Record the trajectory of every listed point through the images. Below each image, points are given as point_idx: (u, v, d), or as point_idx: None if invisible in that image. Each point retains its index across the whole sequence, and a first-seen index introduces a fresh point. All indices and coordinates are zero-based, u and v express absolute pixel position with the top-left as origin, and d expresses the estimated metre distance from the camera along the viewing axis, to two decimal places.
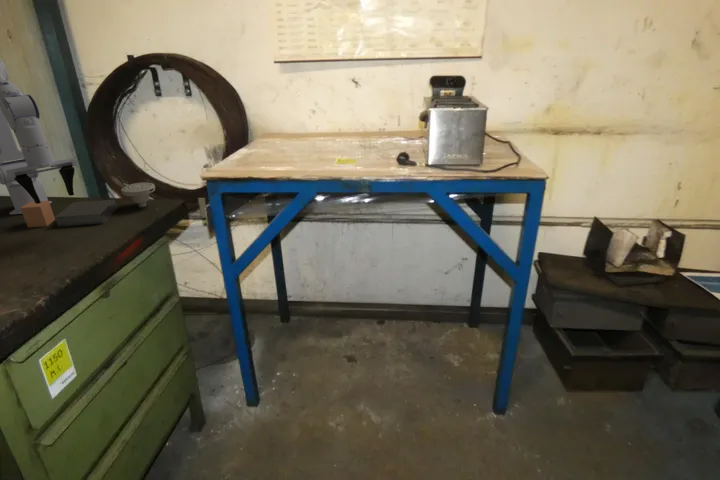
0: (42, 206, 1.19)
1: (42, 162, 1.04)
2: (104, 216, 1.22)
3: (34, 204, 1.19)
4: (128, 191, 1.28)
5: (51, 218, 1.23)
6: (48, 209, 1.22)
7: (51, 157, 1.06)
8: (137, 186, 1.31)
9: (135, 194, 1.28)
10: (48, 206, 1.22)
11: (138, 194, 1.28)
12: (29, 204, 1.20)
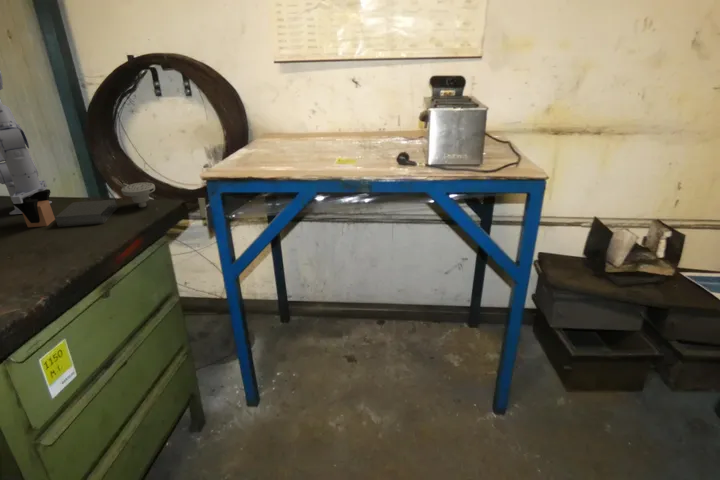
0: (42, 206, 1.19)
1: (39, 186, 1.18)
2: (104, 216, 1.22)
3: None
4: (128, 191, 1.28)
5: (51, 218, 1.23)
6: (47, 209, 1.22)
7: None
8: (137, 186, 1.31)
9: (135, 194, 1.28)
10: (48, 206, 1.22)
11: (138, 194, 1.28)
12: None
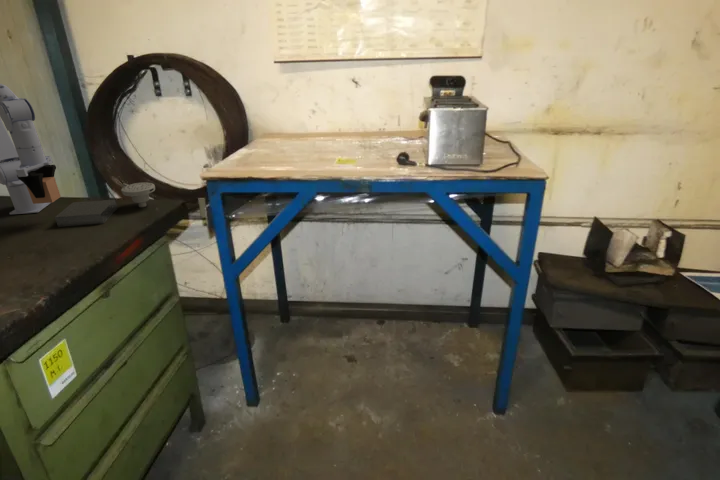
0: (48, 182, 1.17)
1: (44, 160, 1.16)
2: (104, 216, 1.22)
3: None
4: (128, 191, 1.28)
5: (56, 195, 1.21)
6: (53, 185, 1.20)
7: None
8: (137, 186, 1.31)
9: (135, 194, 1.28)
10: (54, 182, 1.20)
11: (138, 194, 1.28)
12: None
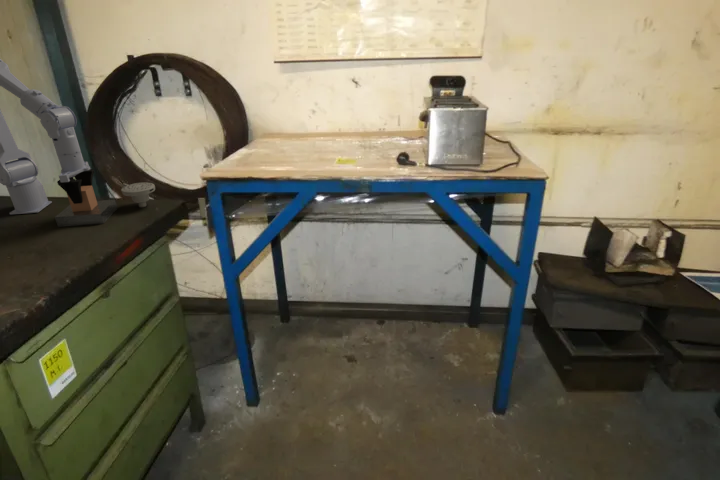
0: (87, 191, 1.22)
1: (83, 166, 1.19)
2: (104, 216, 1.22)
3: None
4: (128, 191, 1.28)
5: (94, 203, 1.25)
6: (91, 194, 1.24)
7: None
8: (137, 186, 1.31)
9: (135, 194, 1.28)
10: (92, 191, 1.24)
11: (138, 194, 1.28)
12: None
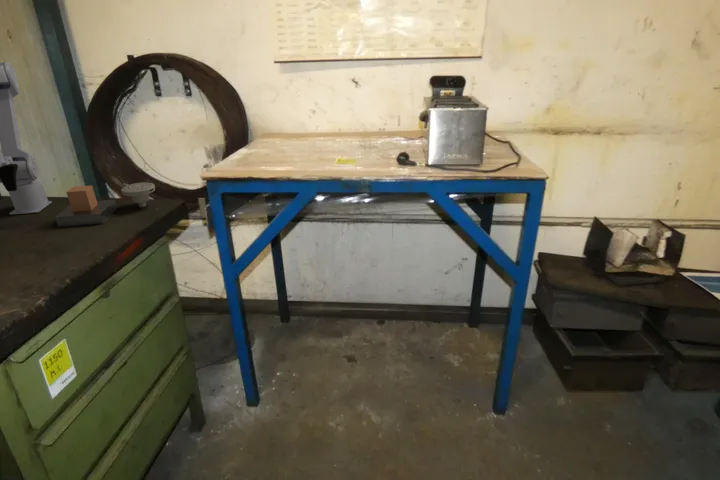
0: (87, 191, 1.22)
1: (2, 160, 1.12)
2: (104, 216, 1.22)
3: (79, 189, 1.22)
4: (128, 191, 1.28)
5: (94, 203, 1.25)
6: (91, 194, 1.24)
7: None
8: (137, 186, 1.31)
9: (135, 194, 1.28)
10: (92, 191, 1.24)
11: (138, 194, 1.28)
12: (74, 189, 1.22)
